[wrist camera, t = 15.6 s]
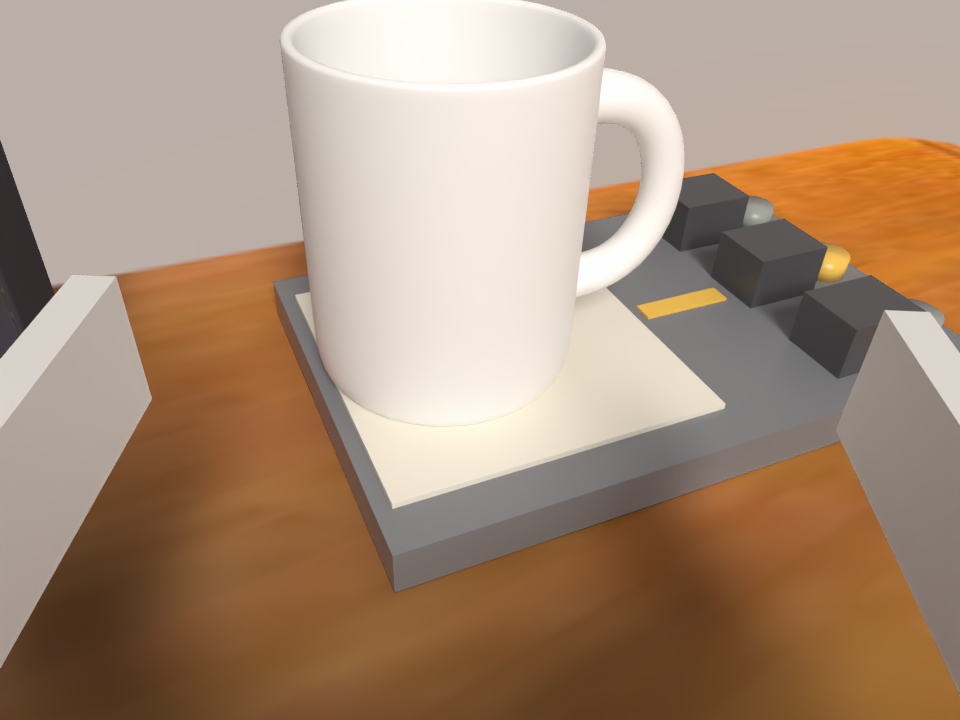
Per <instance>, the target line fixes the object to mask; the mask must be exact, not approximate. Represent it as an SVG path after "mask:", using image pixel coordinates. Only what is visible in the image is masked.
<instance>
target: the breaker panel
mask: <svg viewBox="0 0 960 720" xmlns="http://www.w3.org/2000/svg"><path fill="white" fill-rule="evenodd" d="M773 210H774V206H773V204H772V203H771V202H769V201H768V200H766V199H763V198H760V197H756V196H749V195H747V194H745V193H744V192H742V191H741V190H739V189H737V188H736V187H734V186H733V185H731V184H730V183H728V182H727V181H725V180H724V179H722V178H721V177H719V176H717V175H716V174H714V173H711V174H705V175H700V176H694V177H689V178H683V181H682V187H681V192H680V195H679V199H678V203H677V206H676V209H675V211H674V214H673V216H672V219H671V221H670V223H669V225H668V227H667V229H666V231H665V232H664V234H663V236H662V238H661V239H660V241H659V242H658V244H657V245H656V246H655V248H654V249H653V251H652V252H651V253H650V254H649V255H648V256H647V257H646V259H645V260H644V261H643V262H642V263H641V264H640V265H639V266H638V267H636V268H635V269H634V270H633V271H632V272H630V273H629V274H628V275H627V276H625V277H624V278H622V279H620V280H619V281H617V282H616V283H614V284H612V285H610V286H608V287H606V288H603V289H601V290H599V291H596V292H593V293H590V294H587V295H583V296H579V297H576V300H575V308H574V317H573V324H572V331H571V338H570V343H569V348H568V352H567V355H566V358H565V361H564V364H563V367H562V369H561V371H560V373H559V375H558V376H557V378H556V379H555V381H554V382H553V383H552V384H551V385H550V386H549V388H548V389H547V390H546V391H545V392H544V393H543V394H542V395H540V396H539V397H538V398H537V399H536V400H534V401H532V402H531V403H529V404H528V405H526V406H525V407H523V408H521V409H518V410H516V411H514V412H512V413H510V414H508V415H505V416H503V417H500V418H497V419H494V420H490V421H486V422H482V423H478V424H471V425H464V426H449V427H440V426H424V425H416V424H410V423H405V422H401V421H397V420H394V419H391V418H388V417H384V416H382V415H380V414H377V413H375V412H373V411H371V410H369V409H366V408H364V407H363V406H361V405H359V404H358V403H356V402H354V401H353V400H352V399H350V398H349V397H348V396H347V395H345V394H344V393H343V392H342V391H341V390H340V389H339V388H338V386H337V385H336V384H335V383H334V382H333V381H332V379H331V378H330V376H329V375H328V373H327V371H326V370H325V367H324V365H323V362H322V359H321V356H320V353H319V350H318V345H317V340H316V333H315V326H314V319H313V311H312V303H311V294H310V286H309V278H308V275H307V276H301V277H296V278H291V279H286V280H280V281H275V282H273V284H274V290H275V297H276V304H277V310H278V315H279V318H280V320H281V322H282V325H283V327H284V330H285V332H286V334H287V337H288V339H289V342H290V344H291V346H292V349H293V351H294V353H295V356H296V358H297V361H298V363H299V365H300V368H301V370H302V373H303V375H304V377H305V380H306V382H307V384H308V387H309V389H310V392H311V394H312V396H313V399H314V401H315V404H316V406H317V408H318V411H319V413H320V416H321V418H322V420H323V423H324V425H325V427H326V430H327V432H328V435H329V437H330V439H331V442H332V444H333V447H334V449H335V451H336V454H337V456H338V458H339V461H340V463H341V466H342V468H343V470H344V473H345V475H346V478H347V480H348V482H349V485H350V487H351V489H352V492H353V494H354V497H355V499H356V501H357V504H358V506H359V509H360V511H361V513H362V516H363V518H364V520H365V523H366V525H367V528H368V530H369V532H370V535H371V537H372V540H373V542H374V544H375V547H376V549H377V551H378V554H379V556H380V559H381V561H382V563H383V566H384V568H385V571H386V573H387V575H388V578H389V580H390V582H391V585H392V587H393V590H394V592H398V591H401V590H404V589H407V588H410V587H413V586H416V585H419V584H422V583H425V582H428V581H431V580H434V579H437V578H439V577H442V576H445V575H448V574H451V573H454V572H457V571H460V570H463V569H466V568H469V567H472V566H475V565H478V564H481V563H484V562H487V561H489V560H492V559H495V558H498V557H501V556H504V555H507V554H510V553H513V552H516V551H519V550H522V549H525V548H528V547H531V546H534V545H537V544H539V543H542V542H545V541H548V540H551V539H554V538H557V537H560V536H563V535H566V534H569V533H572V532H575V531H578V530H581V529H584V528H587V527H590V526H592V525H595V524H598V523H601V522H604V521H607V520H610V519H613V518H616V517H619V516H622V515H625V514H628V513H631V512H634V511H637V510H640V509H642V508H645V507H648V506H651V505H654V504H657V503H660V502H663V501H666V500H669V499H672V498H675V497H678V496H681V495H684V494H687V493H690V492H692V491H695V490H698V489H701V488H704V487H707V486H710V485H713V484H716V483H719V482H722V481H725V480H728V479H731V478H734V477H737V476H740V475H742V474H745V473H748V472H751V471H754V470H757V469H760V468H763V467H766V466H769V465H772V464H775V463H778V462H781V461H784V460H787V459H790V458H793V457H795V456H798V455H801V454H804V453H807V452H810V451H813V450H816V449H819V448H822V447H825V446H828V445H831V444H834V443H837V442H840V439H839V436H838V434H837V432H836V428H837V425H838V423H839V420H840V418H841V416H842V413H843V411H844V408H845V406H846V403H847V401H848V398H849V396H850V393H851V391H852V388H853V386H854V384H855V381H856V379H857V376H858V374H859V371H860V369H861V366H862V364H863V361H864V359H865V356H866V354H867V352H868V349H869V347H870V344H871V342H872V339H873V337H874V334H875V332H876V329H877V327H878V325H879V322H880V320H881V317H882V315H883V312H884V310H894V311H916V312H930V313H931V314H932V316H933V317H934V319H935V320H936V321H937V323H938V324H939V325H940V327H941V328H942V329H943V331H944V332H945V334H946V335H947V336H948V338H949V339H950V340H951V342H952V343H953V344H954V346H955V347H956V349H957V350H958V351H959V353H960V336H959V335H958V334H956V333H955V332H953V331H952V330H950V329H949V328H947V327H945V326H944V325H942V324H943V322H944V316H943V314H942V313H941V312H940V311H939V310H938V309H937V308H935V307H934V306H932V305H930V304H928V303H925V302H922V301H919V300H915V299H907V298H906V297H904V296H902V295H901V294H899V293H898V292H896V291H895V290H893V289H892V288H890V287H889V286H887V285H885V284H884V283H882V282H881V281H879V280H878V279H876V278H875V277H873V276H872V275H869V276H867V275H866V274H864V273H863V272H861V271H860V270H858V269H857V268H855V267H853V266H852V265H850V264H849V261H850V255H849V253H848V252H847V251H846V250H844V249H843V248H841V247H839V246H837V245H834V244H830V243H826V242H819V241H818V240H816V239H815V238H813V237H811V236H810V235H808V234H807V233H805V232H804V231H802V230H801V229H799V228H798V227H796V226H795V225H793V224H791V223H790V222H788V221H787V220H785V219H780V218H778V217H777V216H775V215H774V214H773ZM628 215H629V214H625V215H619V216H614V217H609V218H604V219H598V220H593V221H588V222H585V226H584V235H583V243H582V251H581V252H584V251H588V250H590V249H593V248H595V247H597V246H599V245H601V244H602V243H604V242H605V241H607V240H608V239H609V238H610V237H612V236H613V235H614V234H615V233H616V232H617V230H618V229H619V228H620V227H621V226H622V224H623V223H624V221H625V220H626V218H627V217H628Z"/></svg>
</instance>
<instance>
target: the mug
mask: <svg viewBox="0 0 960 720" xmlns="http://www.w3.org/2000/svg"><path fill="white" fill-rule="evenodd" d="M280 46H281V54H282V62H283V70H284V79H285V87H286V96H287V104H288V112H289V121H290V129H291V137H292V145H293V154H294V162H295V170H296V178H297V187H298V195H299V203H300V212H301V219H302V228H303V236H304V245H305V253H306V261H307V269H308V278H309V286H310V294H311V303H312V311H313V319H314V326H315V333H316V340H317V345H318V350H319V353H320V356H321V359H322V362H323V365H324V367H325V370H326V371H327V373H328V375H329V376H330V378H331V379H332V381H333V382H334V383H335V384H336V385H337V386H338V388H339V389H340V390H341V391H342V392H343V393H344V394H345V395H347V396H348V397H349V398H350V399H352V400H353V401H354V402H356V403H358V404H359V405H361V406H363V407H364V408H366V409H369V410H371V411H373V412H375V413H377V414H380V415H382V416H384V417H388V418H391V419H394V420H397V421H401V422H405V423H410V424H416V425H424V426H440V427H449V426H464V425H471V424H478V423H482V422H486V421H490V420H494V419H497V418H500V417H503V416H505V415H508V414H510V413H512V412H514V411H516V410H518V409H521V408H523V407H525V406H526V405H528V404H529V403H531V402H532V401H534V400H536V399H537V398H538V397H539V396H540V395H542V394H543V393H544V392H545V391H546V390H547V389H548V388H549V386H550V385H551V384H552V383H553V382H554V381H555V379H556V378H557V376H558V375H559V373H560V371H561V369H562V367H563V364H564V361H565V358H566V355H567V352H568V348H569V343H570V338H571V331H572V324H573V317H574V308H575V300H576V297H579V296H583V295H587V294H590V293H593V292H596V291H599V290H601V289H603V288H606V287H608V286H610V285H612V284H614V283H616V282H617V281H619V280H620V279H622V278H624V277H625V276H627V275H628V274H629V273H630V272H632V271H633V270H634V269H635V268H636V267H638V266H639V265H640V264H641V263H642V262H643V261H644V260H645V259H646V257H647V256H648V255H649V254H650V253H651V252H652V251H653V249H654V248H655V246H656V245H657V244H658V242H659V241H660V239H661V238H662V236H663V234H664V232H665V231H666V229H667V227H668V225H669V223H670V221H671V219H672V216H673V214H674V211H675V209H676V206H677V203H678V199H679V195H680V192H681V187H682V181H683V174H684V143H683V136H682V131H681V128H680V125H679V122H678V119H677V116H676V115H675V113H674V111H673V110H672V108H671V106H670V104H669V103H668V101H667V100H666V99H665V97H664V96H663V95H662V94H661V93H660V92H659V91H658V90H657V89H656V88H655V87H654V86H653V85H651V84H650V83H648V82H647V81H645V80H644V79H642V78H640V77H638V76H635V75H633V74H630V73H627V72H622V71H619V70H614V69H609V68H604V61H605V53H606V42H605V39H604V37H603V35H602V33H601V32H600V31H599V29H597V28H596V27H595V26H594V25H592V24H591V23H589V22H588V21H586V20H584V19H582V18H580V17H578V16H575V15H573V14H571V13H568V12H565V11H562V10H559V9H556V8H552V7H549V6H545V5H541V4H537V3H532V2H528V1H522V0H347V1H341V2H337V3H333V4H329V5H325V6H322V7H319V8H316V9H313V10H311V11H308V12H306V13H303V14H301V15H300V16H298V17H296V18H294V19H293V20H292V21H290V22H289V23H288V24H287V25H286V26H285V28H284V29H283V31H282V34H281V37H280ZM597 124H617V125H621V126H623V127H625V128H627V129H628V130H629V131H630V132H631V133H632V134H633V135H634V137H635V138H636V140H637V143H638V146H639V149H640V155H641V164H642V173H641V182H640V186H639V190H638V194H637V197H636V200H635V202H634V205H633V207H632V209H631V211H630V213H629V215H628V217H627V218H626V220H625V221H624V223H623V224H622V226H621V227H620V228H619V229H618V230H617V232H616V233H615V234H614V235H613V236H612V237H610V238H609V239H608V240H607V241H605V242H604V243H602V244H601V245H599V246H597V247H595V248H593V249H590V250H588V251H584V252H581V251H582V243H583V235H584V226H585V218H586V210H587V201H588V193H589V183H590V176H591V167H592V159H593V150H594V143H595V135H596V127H597Z"/></svg>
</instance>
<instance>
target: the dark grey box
mask: <svg viewBox="0 0 960 720" xmlns="http://www.w3.org/2000/svg"><path fill="white" fill-rule="evenodd" d="M54 295H55V294H54V291H53V288H52V286H51V283H50V280H49V278H48V275H47V271H46V269H45V266H44V263H43V260H42V257H41V254H40V252H39V249H38V246H37V244H36V240H35V238H34V235H33V232H32V229H31V226H30V223H29V221H28V218H27V215H26V212H25V209H24V206H23V203H22V201H21V198H20V195H19V192H18V190H17V186H16V184H15V181H14V178H13V175H12V172H11V169H10V167H9V164H8V161H7V158H6V155H5V152H4V150H3V147H2V144H1V141H0V359H1V358H2V356H3V355H4V354H5V353H6V352H7V350H8V349H9V348H10V347H11V346H12V345H13V343H14V342H15V341H16V340H17V339H18V338H19V336H20V335H21V334H22V333H23V332H24V330H25V329H26V328H27V327H28V326H29V325H30V323H31V322H32V321H33V320H34V319H35V317H36V316H37V315H38V314H39V313H40V312H41V310H42V309H43V308H44V307H45V306H46V304H47V303H48V302H49V301H50V300H51V299H52V297H53V296H54Z"/></svg>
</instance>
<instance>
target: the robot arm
mask: <svg viewBox="0 0 960 720" xmlns="http://www.w3.org/2000/svg"><path fill="white" fill-rule="evenodd" d="M151 400H152V397H151V394H150V390H149V387H148V384H147V380H146V377H145V373H144V370H143V367H142V363H141V360H140V356H139V353H138V349H137V346H136V343H135V339H134V336H133V332H132V329H131V326H130V322H129V319H128V315H127V312H126V308H125V305H124V302H123V298H122V295H121V291H120V288H119V285H118V281H117V278H116V276H91V275H71V276H70V277H69V279H68V280H67V281H66V282H65V283H64V284H63V286H62V287H61V288H60V289H59V290H58V292H57V293H56V294H55V295H54V296H53V297H52V299H51V300H50V301H49V302H48V303H47V304H46V306H45V307H44V308H43V309H42V310H41V312H40V313H39V314H38V315H37V316H36V317H35V319H34V320H33V321H32V322H31V323H30V325H29V326H28V327H27V328H26V329H25V330H24V332H23V333H22V334H21V335H20V336H19V338H18V339H17V340H16V341H15V342H14V343H13V345H12V346H11V347H10V348H9V349H8V350H7V352H6V353H5V354H4V355H3V356H2V358H1V359H0V668H1V667H2V665H3V663H4V661H5V660H6V658H7V656H8V654H9V652H10V651H11V649H12V647H13V645H14V644H15V642H16V640H17V638H18V636H19V635H20V633H21V631H22V629H23V627H24V626H25V624H26V622H27V620H28V619H29V617H30V615H31V613H32V611H33V610H34V608H35V606H36V604H37V603H38V601H39V599H40V597H41V595H42V594H43V592H44V590H45V588H46V587H47V585H48V583H49V581H50V579H51V578H52V576H53V574H54V572H55V571H56V569H57V567H58V565H59V563H60V562H61V560H62V558H63V556H64V555H65V553H66V551H67V549H68V547H69V546H70V544H71V542H72V540H73V539H74V537H75V535H76V533H77V531H78V530H79V528H80V526H81V524H82V523H83V521H84V519H85V517H86V515H87V514H88V512H89V510H90V508H91V507H92V505H93V503H94V501H95V499H96V498H97V496H98V494H99V492H100V491H101V489H102V487H103V485H104V483H105V482H106V480H107V478H108V476H109V475H110V473H111V471H112V469H113V467H114V466H115V464H116V462H117V460H118V459H119V457H120V455H121V453H122V451H123V450H124V448H125V446H126V444H127V442H128V441H129V439H130V437H131V435H132V434H133V432H134V430H135V428H136V426H137V425H138V423H139V421H140V419H141V418H142V416H143V414H144V412H145V410H146V409H147V407H148V405H149V403H150V402H151ZM836 432H837V434H838V436H839V439H840V441H841V443H842V445H843V447H844V449H845V451H846V453H847V456H848V458H849V460H850V462H851V464H852V466H853V468H854V471H855V473H856V475H857V477H858V479H859V481H860V483H861V485H862V488H863V490H864V492H865V494H866V496H867V498H868V500H869V503H870V505H871V507H872V509H873V511H874V513H875V515H876V518H877V520H878V522H879V524H880V526H881V528H882V530H883V532H884V535H885V537H886V539H887V541H888V543H889V545H890V547H891V550H892V552H893V554H894V556H895V558H896V560H897V562H898V564H899V567H900V569H901V571H902V573H903V575H904V577H905V579H906V582H907V584H908V586H909V588H910V590H911V592H912V594H913V597H914V599H915V601H916V603H917V605H918V607H919V609H920V611H921V614H922V616H923V618H924V620H925V622H926V624H927V626H928V629H929V631H930V633H931V635H932V637H933V639H934V641H935V644H936V646H937V648H938V650H939V652H940V654H941V656H942V658H943V661H944V663H945V665H946V667H947V669H948V671H949V673H950V676H951V678H952V680H953V682H954V684H955V686H956V688H957V690H958V693H959V695H960V353H959V351H958V350H957V349H956V347H955V346H954V344H953V343H952V342H951V340H950V339H949V338H948V336H947V335H946V334H945V332H944V331H943V329H942V328H941V327H940V325H939V324H938V323H937V321H936V320H935V319H934V317H933V316H932V314H931V313H930V312H916V311H894V310H884V312H883V315H882V317H881V320H880V322H879V325H878V327H877V329H876V332H875V334H874V337H873V339H872V342H871V344H870V347H869V349H868V352H867V354H866V356H865V359H864V361H863V364H862V366H861V369H860V371H859V374H858V376H857V379H856V381H855V384H854V386H853V388H852V391H851V393H850V396H849V398H848V401H847V403H846V406H845V408H844V411H843V413H842V416H841V418H840V420H839V423H838V425H837V428H836Z"/></svg>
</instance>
